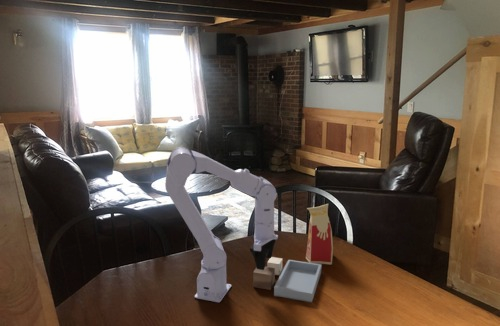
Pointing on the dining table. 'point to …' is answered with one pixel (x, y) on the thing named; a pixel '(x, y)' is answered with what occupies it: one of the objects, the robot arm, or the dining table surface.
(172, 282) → the dining table surface
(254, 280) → the walnut block
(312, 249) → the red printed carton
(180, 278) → the dining table surface
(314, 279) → the tote
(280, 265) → the cream box
